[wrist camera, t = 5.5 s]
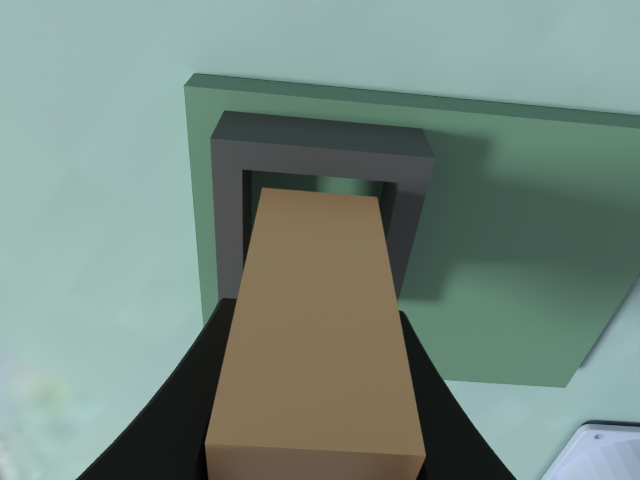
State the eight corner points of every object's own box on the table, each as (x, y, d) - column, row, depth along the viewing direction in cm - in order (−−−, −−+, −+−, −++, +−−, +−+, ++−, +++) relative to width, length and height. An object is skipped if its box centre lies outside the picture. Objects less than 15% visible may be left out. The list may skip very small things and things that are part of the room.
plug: (376, 197, 12) (426, 455, 6) (356, 307, 14) (377, 569, 9) (262, 187, 12) (204, 443, 6) (259, 301, 14) (216, 562, 8)
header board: (701, 121, 15) (783, 167, 12) (554, 366, 21) (585, 428, 19) (193, 73, 14) (163, 111, 11) (212, 343, 21) (196, 405, 18)
